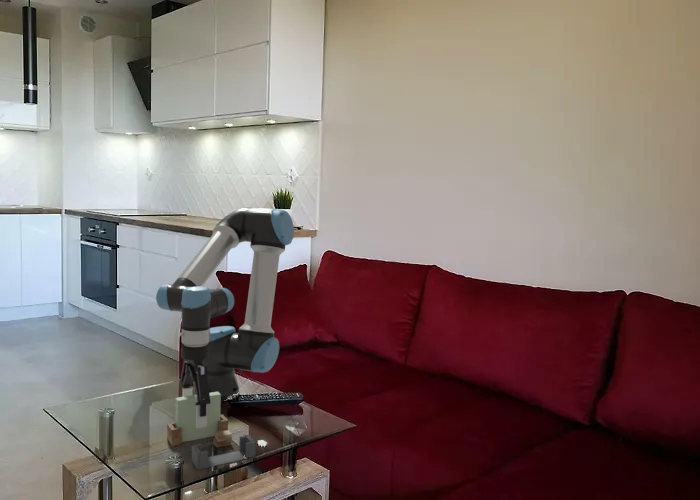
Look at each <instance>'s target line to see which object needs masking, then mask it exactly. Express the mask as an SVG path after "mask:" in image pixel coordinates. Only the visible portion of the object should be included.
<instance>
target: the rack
mask: <svg viewBox="0 0 700 500" xmlns="http://www.w3.org/2000/svg"><path fill="white" fill-rule="evenodd" d="M166 426H167V427H166V429H167V431H166V433H167V435H166V439H167V441H168V442H169V444H170V445H171V446H172V447H173V446H179V445H182V444H183V442H182V428H175V421H174V422H169V423H168V422H167V425H166ZM226 430H229V419H227V417H226V416H225V415H224V414H220V421H218V432H219V431H226Z"/></svg>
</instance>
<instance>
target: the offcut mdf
mask: <svg viewBox="0 0 700 500" xmlns="http://www.w3.org/2000/svg"><path fill="white" fill-rule="evenodd" d="M214 438H216V439H217V441H224V440H230V439H233V434H232V432H231V431H230V430H229V429H228V430H226V431H219V432H215V436H214Z"/></svg>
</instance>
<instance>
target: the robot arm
mask: <svg viewBox="0 0 700 500" xmlns="http://www.w3.org/2000/svg"><path fill="white" fill-rule="evenodd" d="M294 233H295V231H294V222H293V220H292V217H291V214H290V213H289V212H288V211H286V210H285V209H277V208H263V207H261V208H260V207H243V208H238V209H237V210H234V211H232V212H230V213H229V214H227V215H226V216H224V217H223V218H222V219H221V220H220V221H219V222H218V223H217V224H216V225H215V226H214V227H213V229H212V235H211V236H210V237H209V239H208V240H206V243H204V244H203V246H202V248H201V249H200V250H199V251H198V253H196V255H195V256H194V257H193V259H192V260H191V261H190V262H189V264H188V265H187V266H186V267H185V269H184V270H183V271H182V273H180V274H179V276H178V277H177V278H176V280H175V281H174V282H173V283H172V284H170V283H168V284H163V285H160V286H159V288H158V289H157V290H156V296H155V297H156V299H155V300H156V304H157V305H158V307H159V308H160V309H162V310H165V311H169V312H179V313H181V332H180V333H179V337H181V343H182V344H181V346H180V348H181V349H180V357H181V359H183V363H182V369H181V373H180V380H179V383H180V384H181V387H182V389H181V390H182V396H181V397H185V396H191V395H197V401H198V402H196V404H195V405H196V428H202V427H207V404H210V402H211V401H210V394H209V393H212V392H219V393H220V394H221V401H224V400H226V399H227V397H228V396H229V395H233V394H237V393H238V392H239V393H240V387H239V383H238V380H237V377H236V373H235V370H242V371H248V372H251V373H268V372H269V371H270V370H271V369H272V368H273V366H274V365H275V363H276V361H277V359H278V357H279V353H280V342H279V339H278V338H277V337H275V331H274V329H273V328H272V325H271V324H272V317H273V310H274V303H275V293H276V288H277V287H276V285H277V279H278V277H277V276H278V272H279V271H278V270H279V262H280V256H281V255H282V254H283V253H284V252H285V251H286V246H288V245H289V246H290V244H292V241H293V239H294ZM245 242H247V243H250V248H251V249H252V251H253V258H252V264H251V271H250V272H251V273H250V279H249V288H248V295H247V303H246V310H245V315H244V316H245V317H244V323H243V324H242V325H241V326H240V327H239V328H238V332H237V331H236V328H235V327H234V326H232V325H231V326H230V325H222V326H215V327H210V325H211V324H210V321H211V319H212V318H216V317H218V316H222V315H225V314H226V313H228V312H230V311H232V309H233V307H234V305H235V297H234V295H233V293H232V292H231V290H229V289H228V288H226V287H220V288H219V287H217V288H213V289H212V288H211V289H210V288H208V287H206V286H204V285H205V284H206V283H207V282H208V280H209V279H210V278H211V276H212V275H213V273H215V271H216V270H217V268H218V267H219V266H220V264H221V263H222V262H223V260H224V259H225V257H226V256H227V255H228V253H229V252H230V251H231V250H232V249H236V248H237V247H238V245H239V244H241V243H245ZM203 399H205V400H203Z"/></svg>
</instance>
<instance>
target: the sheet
mask: <svg viewBox="0 0 700 500" xmlns="http://www.w3.org/2000/svg"><path fill="white" fill-rule="evenodd" d="M209 394H210V401H211V402H210V404H207V427H202V428H196V405H195V404H196V402H198V401H197V395H193V394H192V395H191V396H185V397H182V396H179V397H175V405H174V407H175V410H174V412H175V416H174V417H175V418H174V419H175V421H174V422H175V428H182V443H184V442H189V441H195V440H201V439H206V438H212V437H215V432H218V421H220V415H221V404H222V402H221V394H220V393H219V392H212V393H209ZM203 400H205V399H203Z"/></svg>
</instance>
